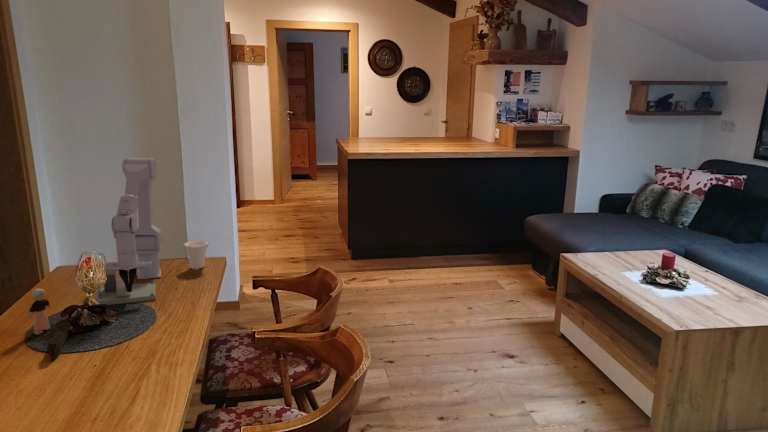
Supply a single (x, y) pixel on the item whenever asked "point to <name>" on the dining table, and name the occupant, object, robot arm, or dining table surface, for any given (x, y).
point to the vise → (127, 294)
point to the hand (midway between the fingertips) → (129, 290)
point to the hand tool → (58, 339)
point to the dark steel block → (110, 282)
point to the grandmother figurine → (39, 311)
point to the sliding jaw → (120, 288)
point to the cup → (196, 253)
